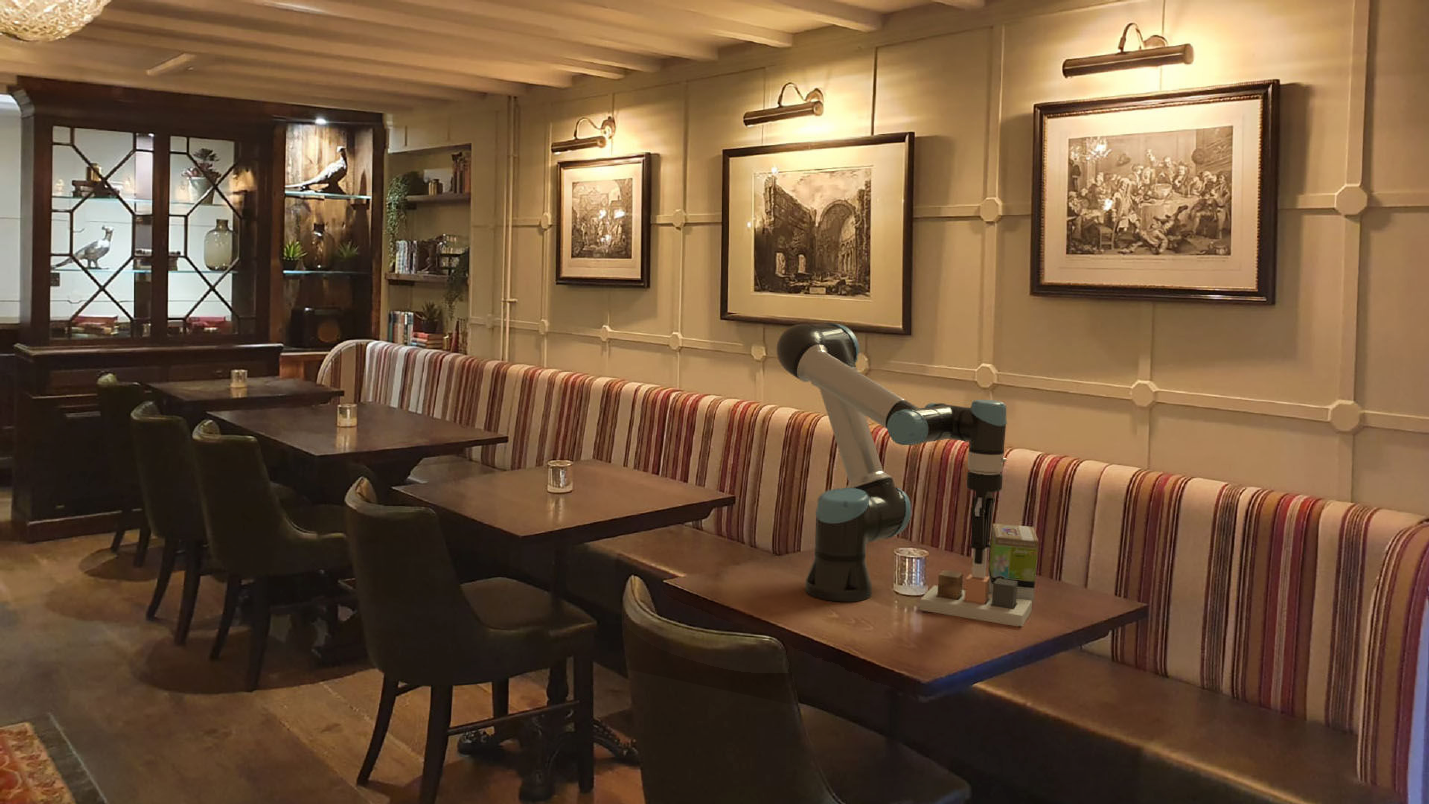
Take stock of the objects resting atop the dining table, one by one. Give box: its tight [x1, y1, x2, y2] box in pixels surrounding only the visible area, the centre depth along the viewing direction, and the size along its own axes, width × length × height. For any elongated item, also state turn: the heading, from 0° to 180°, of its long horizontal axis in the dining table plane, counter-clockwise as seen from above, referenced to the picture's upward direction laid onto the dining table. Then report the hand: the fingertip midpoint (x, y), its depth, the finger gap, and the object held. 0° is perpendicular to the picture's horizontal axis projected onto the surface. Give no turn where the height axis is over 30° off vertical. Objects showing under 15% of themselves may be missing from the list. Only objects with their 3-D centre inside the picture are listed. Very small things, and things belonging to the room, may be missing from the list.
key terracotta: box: [964, 573, 990, 604], centre depth 244 cm, size 4×4×5 cm
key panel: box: [919, 584, 1033, 628], centre depth 245 cm, size 22×12×2 cm, turn 65°
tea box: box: [987, 523, 1040, 603], centre depth 259 cm, size 15×10×15 cm
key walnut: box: [937, 569, 964, 600], centre depth 247 cm, size 4×4×5 cm
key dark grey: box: [992, 578, 1018, 609], centre depth 242 cm, size 4×4×5 cm
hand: (978, 576), depth 244 cm, fingers closed
